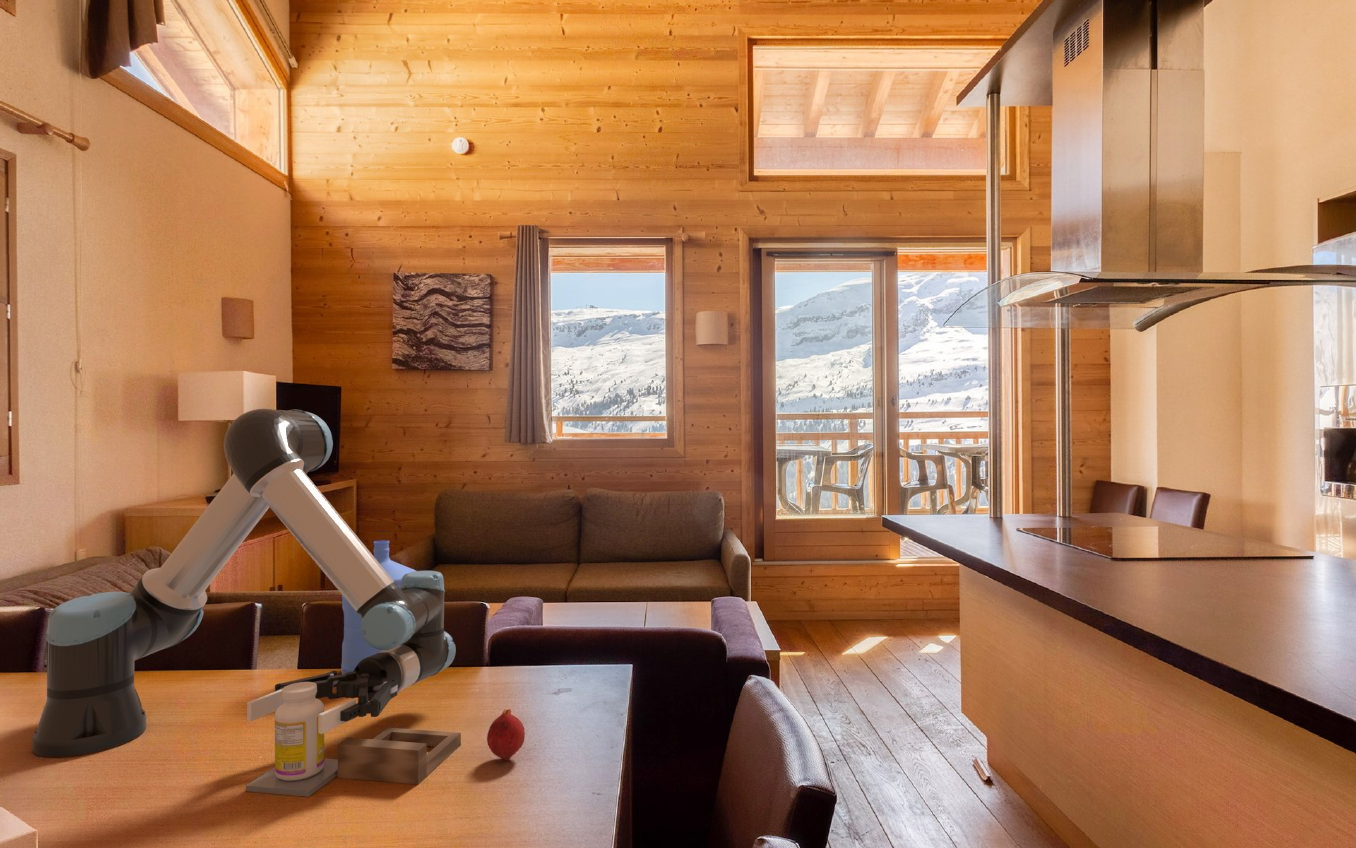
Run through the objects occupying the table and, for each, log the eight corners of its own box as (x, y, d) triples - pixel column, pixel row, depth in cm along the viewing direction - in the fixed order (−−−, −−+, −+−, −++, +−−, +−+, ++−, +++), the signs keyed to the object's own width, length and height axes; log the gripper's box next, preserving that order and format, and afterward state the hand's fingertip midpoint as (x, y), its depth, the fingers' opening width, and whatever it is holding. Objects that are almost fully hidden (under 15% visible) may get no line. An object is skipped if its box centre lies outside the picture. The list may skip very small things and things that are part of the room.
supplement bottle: (312, 758, 117) (312, 676, 117) (332, 771, 113) (332, 685, 113) (266, 774, 112) (267, 687, 112) (286, 787, 107) (286, 698, 107)
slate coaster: (245, 791, 108) (245, 785, 108) (292, 761, 118) (292, 755, 118) (308, 797, 106) (308, 791, 106) (350, 765, 116) (350, 760, 116)
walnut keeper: (337, 777, 112) (337, 744, 112) (388, 739, 126) (388, 709, 126) (418, 784, 110) (418, 750, 110) (460, 745, 124) (461, 714, 124)
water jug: (434, 667, 164) (435, 539, 164) (371, 688, 151) (372, 549, 151) (388, 656, 172) (389, 534, 173) (325, 675, 159) (326, 543, 159)
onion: (515, 769, 115) (515, 717, 115) (480, 766, 116) (480, 714, 116) (530, 753, 121) (530, 704, 121) (497, 750, 122) (497, 701, 122)
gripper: (446, 704, 125) (351, 756, 105) (329, 686, 133) (220, 732, 113) (446, 659, 125) (352, 702, 105) (329, 644, 134) (221, 682, 114)
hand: (283, 718), depth 109 cm, fingers open, 13 cm apart
